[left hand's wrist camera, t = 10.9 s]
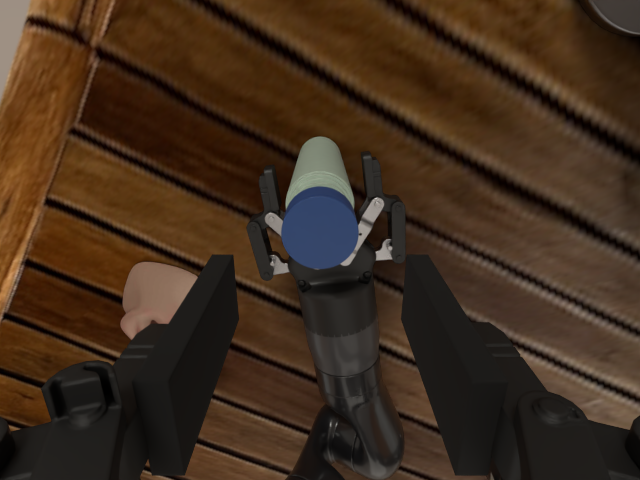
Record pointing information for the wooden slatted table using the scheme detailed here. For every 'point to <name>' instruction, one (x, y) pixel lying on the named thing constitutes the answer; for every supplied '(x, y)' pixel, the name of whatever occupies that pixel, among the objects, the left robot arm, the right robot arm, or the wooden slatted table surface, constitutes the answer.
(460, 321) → the left robot arm
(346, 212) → the cap
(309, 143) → the bottle
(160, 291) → the anatomical model
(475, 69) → the wooden slatted table surface
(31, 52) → the wooden slatted table surface
